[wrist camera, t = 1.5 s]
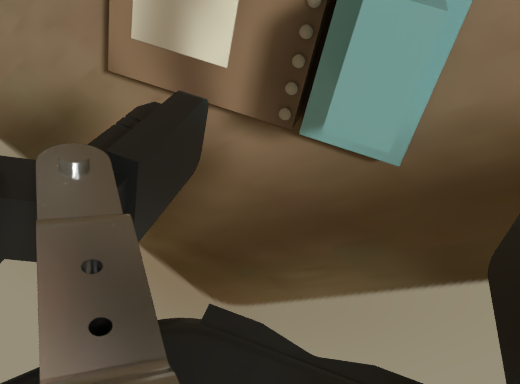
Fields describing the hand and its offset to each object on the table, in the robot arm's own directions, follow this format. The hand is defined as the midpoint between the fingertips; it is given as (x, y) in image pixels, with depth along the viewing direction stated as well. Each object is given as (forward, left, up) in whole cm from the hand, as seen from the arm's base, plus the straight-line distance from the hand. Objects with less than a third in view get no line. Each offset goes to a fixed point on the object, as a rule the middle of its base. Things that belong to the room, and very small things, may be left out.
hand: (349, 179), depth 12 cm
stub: (0, 0, -16) cm, 16 cm away
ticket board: (+9, 0, -16) cm, 19 cm away
